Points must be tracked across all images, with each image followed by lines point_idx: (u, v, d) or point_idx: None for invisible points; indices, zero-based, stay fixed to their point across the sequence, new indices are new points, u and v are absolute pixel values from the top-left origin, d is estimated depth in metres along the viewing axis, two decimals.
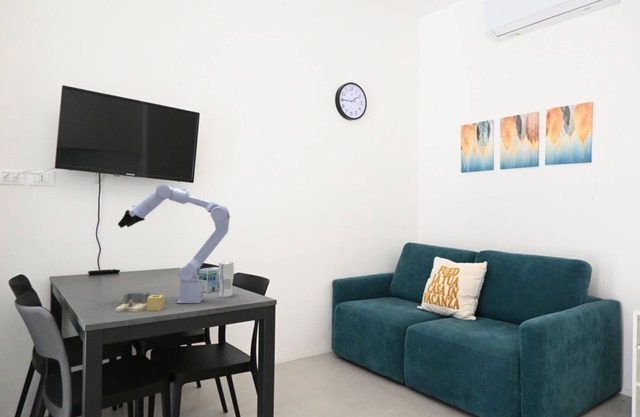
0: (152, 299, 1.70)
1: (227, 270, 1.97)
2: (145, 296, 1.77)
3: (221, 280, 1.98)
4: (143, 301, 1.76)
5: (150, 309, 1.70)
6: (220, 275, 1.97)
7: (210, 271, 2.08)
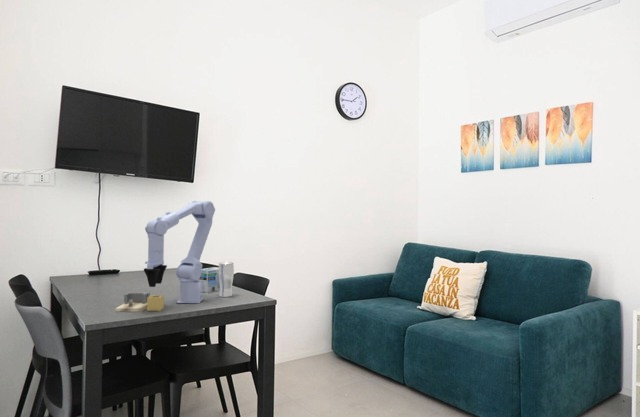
0: (152, 299, 1.70)
1: (227, 270, 1.97)
2: (145, 296, 1.77)
3: (221, 280, 1.98)
4: (143, 301, 1.76)
5: (150, 309, 1.70)
6: (220, 275, 1.97)
7: (210, 271, 2.08)
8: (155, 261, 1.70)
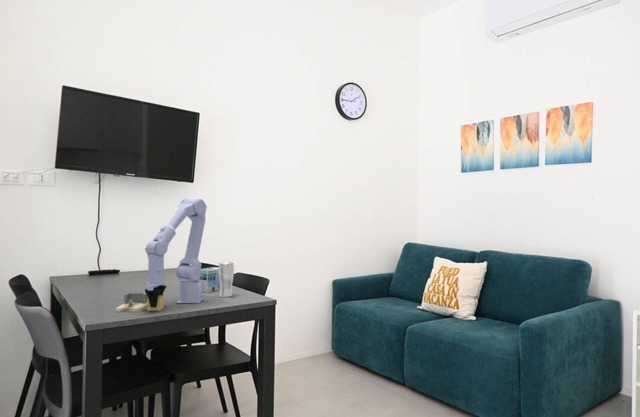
0: None
1: (227, 270, 1.97)
2: (145, 296, 1.77)
3: (221, 280, 1.98)
4: (143, 301, 1.76)
5: (150, 309, 1.70)
6: (220, 275, 1.97)
7: (210, 271, 2.08)
8: (155, 282, 1.70)
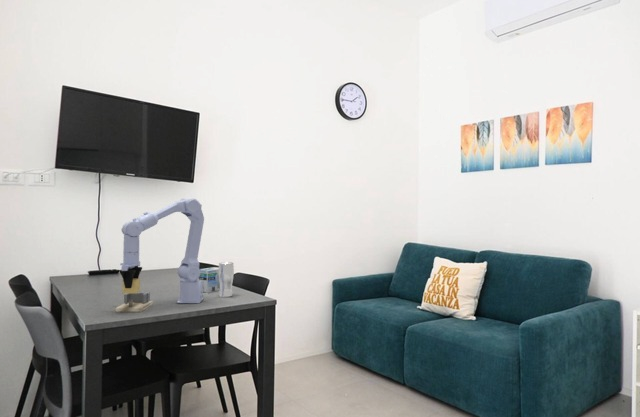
0: None
1: (227, 270, 1.97)
2: (145, 296, 1.77)
3: (221, 280, 1.98)
4: (143, 301, 1.76)
5: (125, 292, 1.69)
6: (220, 275, 1.97)
7: (210, 271, 2.08)
8: (130, 263, 1.69)
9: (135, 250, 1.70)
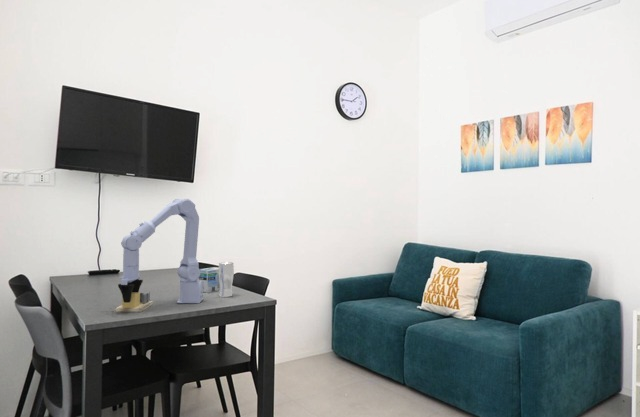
0: None
1: (227, 270, 1.97)
2: (145, 296, 1.77)
3: (221, 280, 1.98)
4: (143, 301, 1.76)
5: (125, 306, 1.69)
6: (220, 275, 1.97)
7: (210, 271, 2.08)
8: (130, 276, 1.69)
9: (135, 264, 1.70)
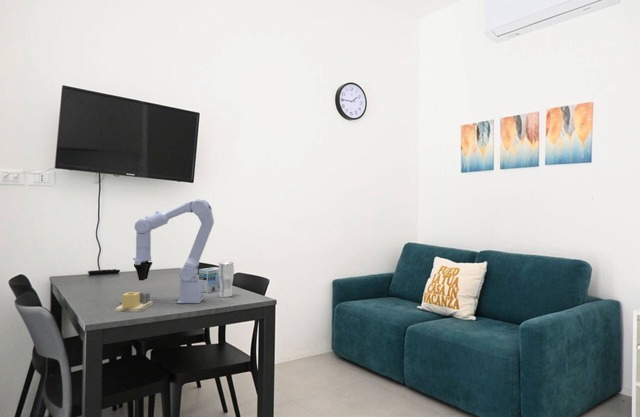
0: (127, 296, 1.69)
1: (227, 270, 1.97)
2: (145, 296, 1.77)
3: (221, 280, 1.98)
4: (143, 301, 1.76)
5: (125, 306, 1.69)
6: (220, 275, 1.97)
7: (210, 271, 2.08)
8: (142, 257, 1.83)
9: (142, 246, 1.83)
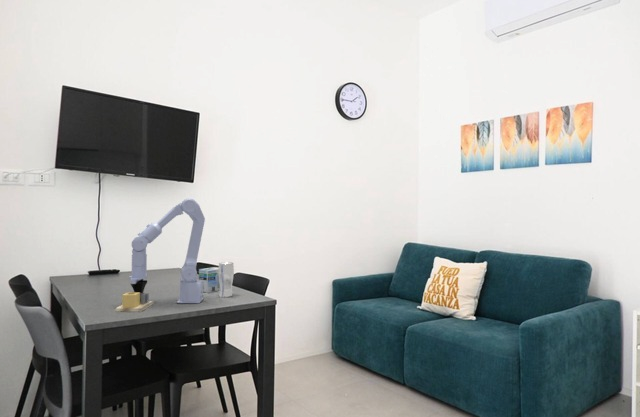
0: (127, 296, 1.69)
1: (227, 270, 1.97)
2: (144, 297, 1.76)
3: (221, 280, 1.98)
4: (142, 302, 1.75)
5: (125, 306, 1.69)
6: (220, 275, 1.97)
7: (210, 271, 2.08)
8: (138, 276, 1.78)
9: (140, 264, 1.78)
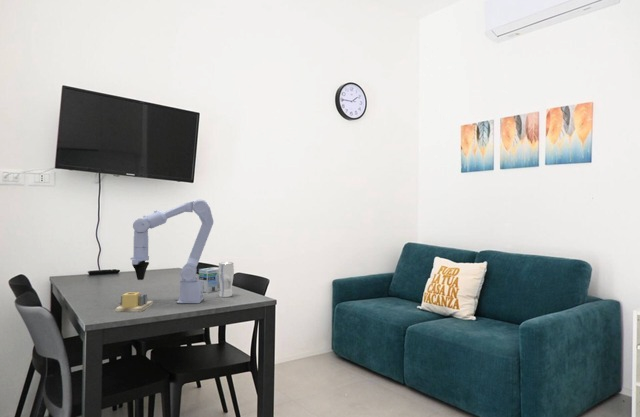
0: (127, 296, 1.69)
1: (227, 270, 1.97)
2: (142, 298, 1.74)
3: (221, 280, 1.98)
4: (140, 303, 1.73)
5: (125, 306, 1.69)
6: (220, 275, 1.97)
7: (210, 271, 2.08)
8: (140, 257, 1.80)
9: (141, 245, 1.80)
